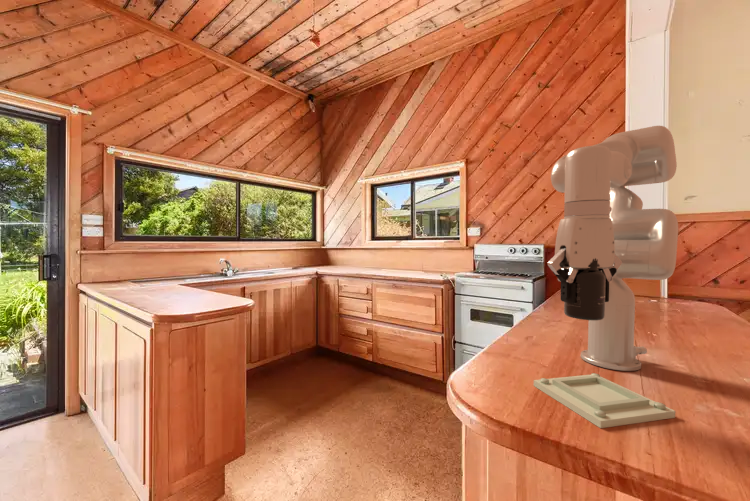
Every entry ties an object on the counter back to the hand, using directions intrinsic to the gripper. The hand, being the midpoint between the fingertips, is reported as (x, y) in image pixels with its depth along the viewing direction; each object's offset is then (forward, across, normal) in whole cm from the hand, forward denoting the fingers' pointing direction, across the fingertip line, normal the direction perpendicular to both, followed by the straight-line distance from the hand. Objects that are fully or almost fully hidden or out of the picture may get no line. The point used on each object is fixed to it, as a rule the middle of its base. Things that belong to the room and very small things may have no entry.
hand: (584, 300), depth 64 cm
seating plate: (+19, -1, +2) cm, 19 cm away
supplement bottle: (+3, 0, 0) cm, 3 cm away
